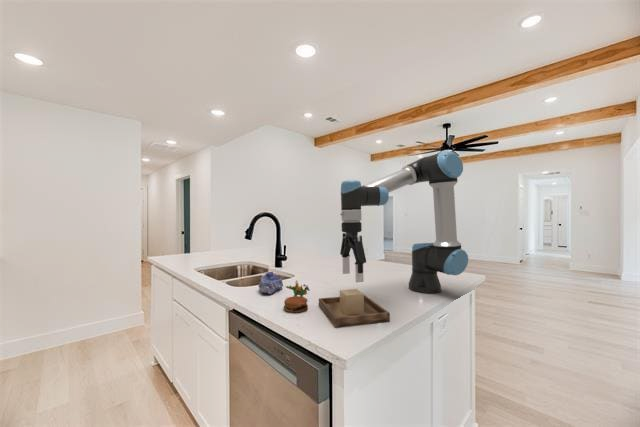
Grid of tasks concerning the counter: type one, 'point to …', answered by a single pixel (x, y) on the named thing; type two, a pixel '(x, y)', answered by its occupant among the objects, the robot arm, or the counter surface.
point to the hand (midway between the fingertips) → (352, 277)
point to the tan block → (351, 301)
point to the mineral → (270, 283)
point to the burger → (295, 304)
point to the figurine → (299, 289)
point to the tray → (340, 319)
